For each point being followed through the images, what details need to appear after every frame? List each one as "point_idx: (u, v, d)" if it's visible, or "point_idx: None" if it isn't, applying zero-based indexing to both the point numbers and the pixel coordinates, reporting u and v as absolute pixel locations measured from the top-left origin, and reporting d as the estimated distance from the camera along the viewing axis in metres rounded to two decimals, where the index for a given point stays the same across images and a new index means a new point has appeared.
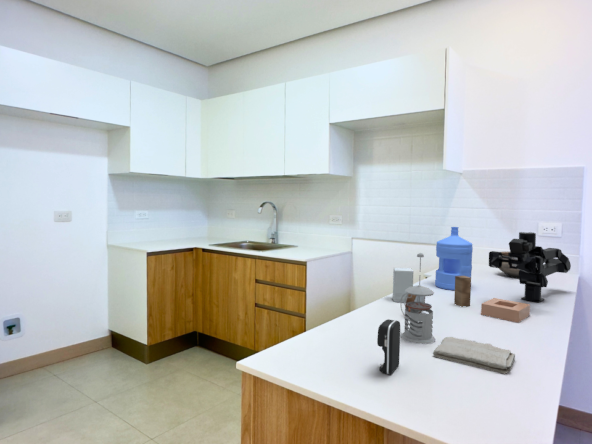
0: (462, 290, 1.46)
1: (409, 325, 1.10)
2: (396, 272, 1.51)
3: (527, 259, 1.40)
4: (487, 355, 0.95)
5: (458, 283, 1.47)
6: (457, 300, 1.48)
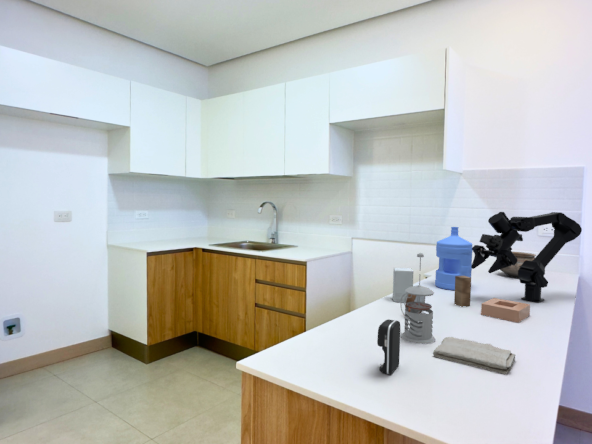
0: (462, 290, 1.46)
1: (409, 325, 1.10)
2: (396, 272, 1.51)
3: (497, 257, 1.44)
4: (487, 355, 0.95)
5: (458, 283, 1.47)
6: (457, 300, 1.48)
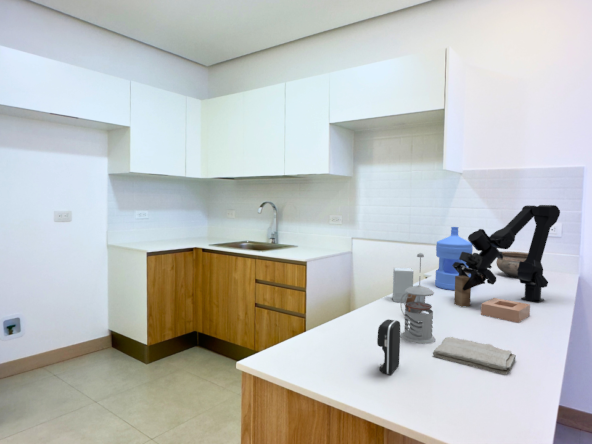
0: (462, 290, 1.46)
1: (409, 325, 1.10)
2: (396, 272, 1.51)
3: (471, 275, 1.45)
4: (487, 356, 0.94)
5: (458, 283, 1.47)
6: (457, 300, 1.48)
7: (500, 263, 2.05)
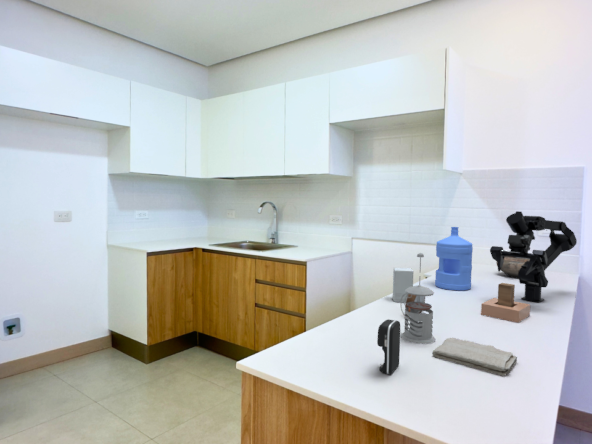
0: (510, 299, 1.33)
1: (409, 325, 1.10)
2: (396, 272, 1.51)
3: (531, 258, 1.41)
4: (486, 357, 0.94)
5: (504, 292, 1.34)
6: None
7: None
